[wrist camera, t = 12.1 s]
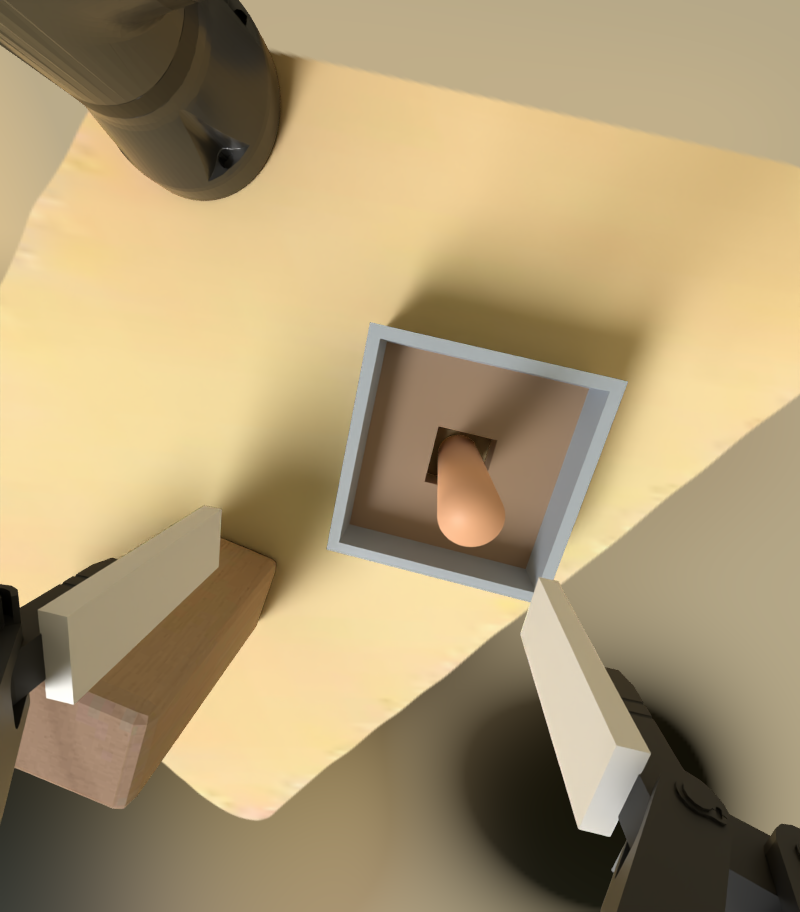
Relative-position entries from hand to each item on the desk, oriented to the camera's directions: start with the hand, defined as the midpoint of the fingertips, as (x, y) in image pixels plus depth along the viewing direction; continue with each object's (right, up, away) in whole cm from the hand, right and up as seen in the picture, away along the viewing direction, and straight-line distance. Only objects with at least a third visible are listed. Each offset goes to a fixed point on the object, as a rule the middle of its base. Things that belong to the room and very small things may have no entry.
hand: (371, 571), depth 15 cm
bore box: (+7, +5, +22) cm, 24 cm away
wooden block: (-19, -10, +29) cm, 36 cm away
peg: (+7, +5, +22) cm, 24 cm away
